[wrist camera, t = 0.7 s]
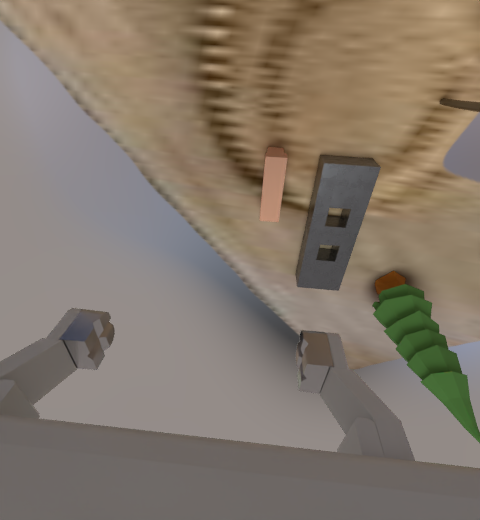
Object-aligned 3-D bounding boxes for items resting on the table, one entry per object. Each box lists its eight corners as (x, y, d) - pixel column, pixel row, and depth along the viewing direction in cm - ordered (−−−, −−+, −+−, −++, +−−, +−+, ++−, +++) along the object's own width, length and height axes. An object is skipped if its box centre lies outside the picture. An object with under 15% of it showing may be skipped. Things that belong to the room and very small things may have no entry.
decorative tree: (424, 277, 56) (539, 448, 32) (391, 307, 62) (469, 471, 38) (383, 260, 54) (471, 426, 31) (353, 292, 60) (408, 454, 36)
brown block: (266, 144, 44) (265, 156, 39) (285, 145, 43) (287, 157, 39) (260, 204, 50) (259, 220, 45) (277, 205, 49) (278, 222, 45)
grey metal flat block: (320, 155, 44) (324, 163, 41) (372, 158, 43) (380, 167, 40) (295, 273, 58) (297, 286, 55) (334, 277, 58) (338, 290, 55)
